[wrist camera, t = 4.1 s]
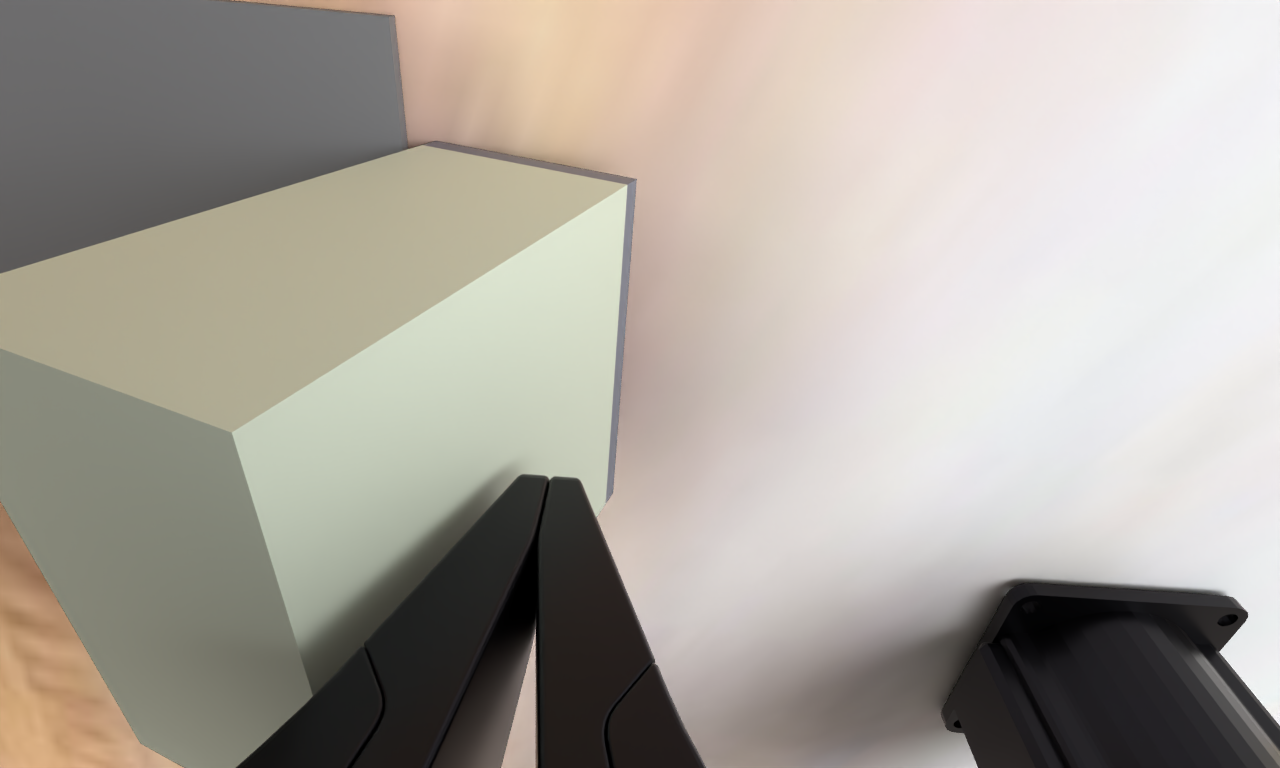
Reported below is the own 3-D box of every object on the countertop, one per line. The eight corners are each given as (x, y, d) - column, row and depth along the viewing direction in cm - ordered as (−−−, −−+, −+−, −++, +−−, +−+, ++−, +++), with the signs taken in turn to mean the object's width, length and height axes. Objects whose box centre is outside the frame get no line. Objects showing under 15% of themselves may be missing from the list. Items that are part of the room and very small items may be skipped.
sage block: (636, 179, 11) (232, 433, 5) (612, 492, 15) (366, 868, 9) (435, 140, 12) (-112, 308, 6) (460, 442, 16) (140, 743, 10)
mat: (394, 15, 11) (388, 17, 11) (444, 504, 17) (441, 512, 17) (-188, -38, 11) (-208, -38, 11) (66, 478, 17) (57, 486, 17)
